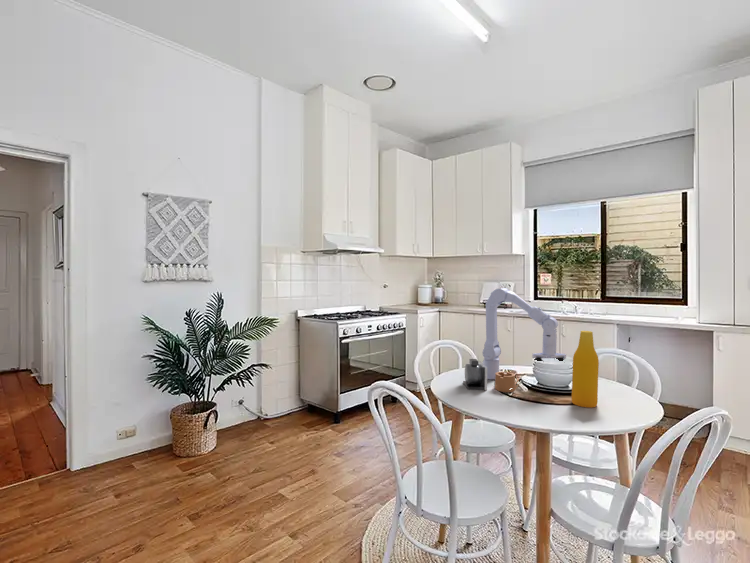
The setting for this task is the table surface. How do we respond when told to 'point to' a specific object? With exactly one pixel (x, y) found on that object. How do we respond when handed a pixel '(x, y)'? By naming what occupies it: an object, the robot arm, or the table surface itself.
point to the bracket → (505, 382)
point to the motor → (475, 375)
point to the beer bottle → (585, 372)
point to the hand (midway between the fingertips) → (548, 374)
